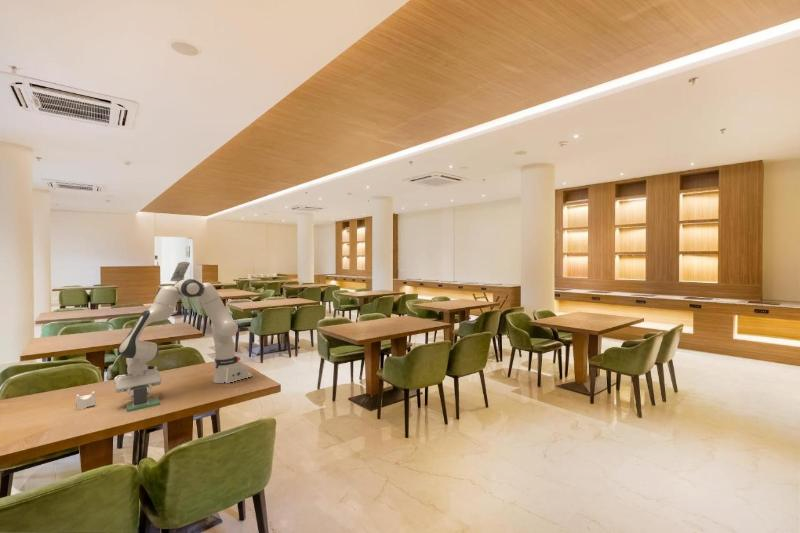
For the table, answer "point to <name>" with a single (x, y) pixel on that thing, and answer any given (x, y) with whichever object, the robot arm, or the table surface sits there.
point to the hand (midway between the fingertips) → (140, 395)
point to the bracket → (85, 401)
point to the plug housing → (140, 395)
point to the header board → (149, 403)
